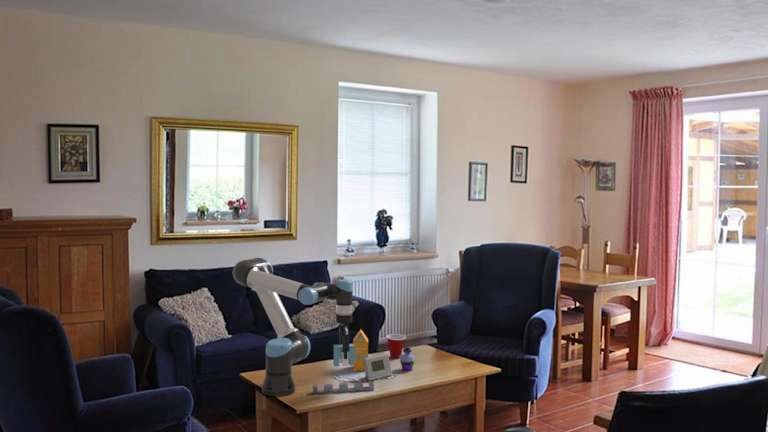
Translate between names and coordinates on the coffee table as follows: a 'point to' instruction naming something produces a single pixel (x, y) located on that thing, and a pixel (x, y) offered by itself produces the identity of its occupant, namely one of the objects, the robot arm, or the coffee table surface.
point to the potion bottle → (407, 359)
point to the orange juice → (360, 350)
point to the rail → (343, 388)
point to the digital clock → (377, 366)
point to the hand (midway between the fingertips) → (343, 364)
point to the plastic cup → (395, 345)
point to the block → (338, 354)
